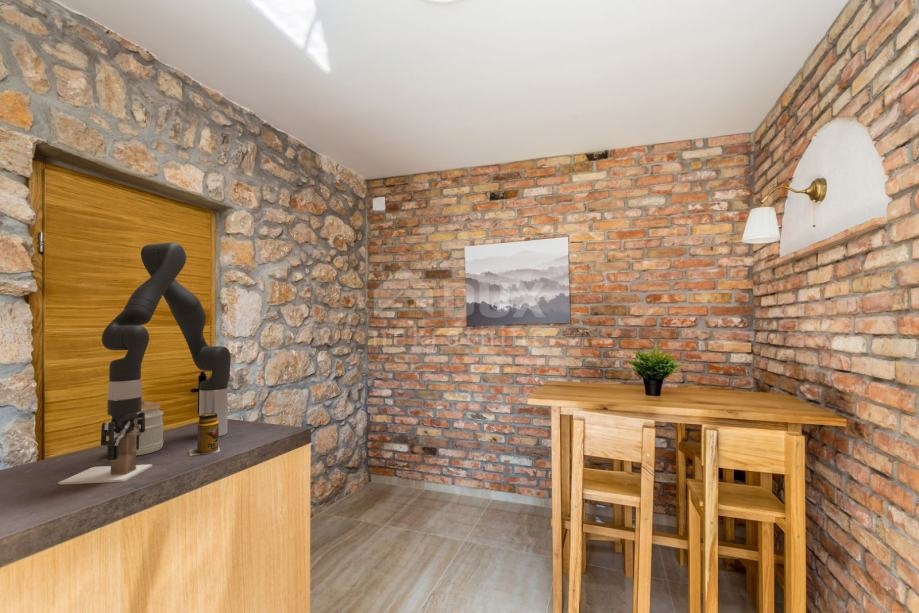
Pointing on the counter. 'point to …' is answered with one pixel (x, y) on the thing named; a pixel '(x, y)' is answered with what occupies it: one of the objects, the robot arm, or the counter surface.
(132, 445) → the block
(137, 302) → the robot arm
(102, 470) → the mat
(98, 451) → the counter surface
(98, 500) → the counter surface
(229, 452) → the counter surface
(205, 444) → the condiment
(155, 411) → the jar
